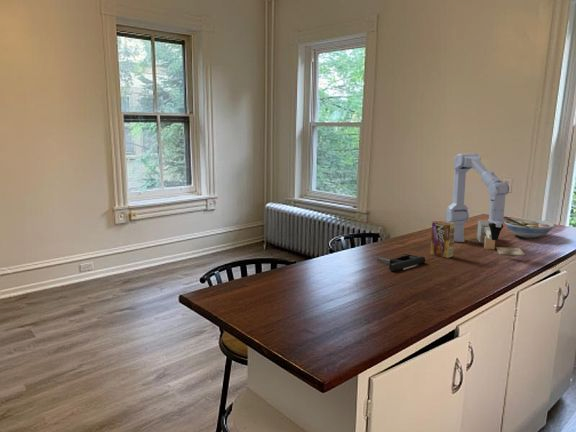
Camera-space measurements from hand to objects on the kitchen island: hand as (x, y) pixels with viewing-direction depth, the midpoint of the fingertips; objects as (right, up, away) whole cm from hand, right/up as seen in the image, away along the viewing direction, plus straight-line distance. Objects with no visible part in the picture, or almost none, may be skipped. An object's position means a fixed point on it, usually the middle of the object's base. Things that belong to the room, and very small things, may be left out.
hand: (494, 239), depth 191 cm
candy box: (-23, -7, +2) cm, 24 cm away
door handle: (-45, -10, -9) cm, 47 cm away
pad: (+10, -6, +6) cm, 13 cm away
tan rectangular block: (+3, -5, +13) cm, 14 cm away
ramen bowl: (+33, 0, +33) cm, 46 cm away
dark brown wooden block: (+8, -2, +27) cm, 28 cm away
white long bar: (+4, +2, +13) cm, 14 cm away
